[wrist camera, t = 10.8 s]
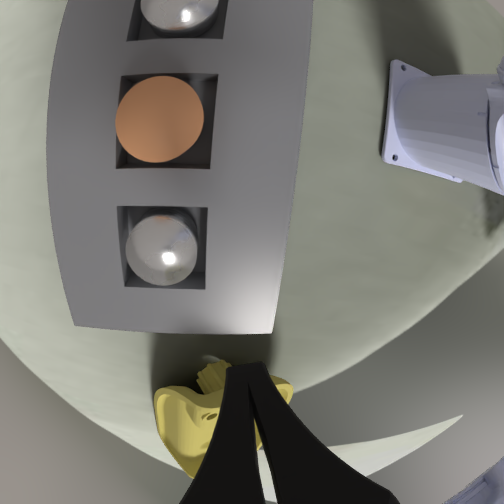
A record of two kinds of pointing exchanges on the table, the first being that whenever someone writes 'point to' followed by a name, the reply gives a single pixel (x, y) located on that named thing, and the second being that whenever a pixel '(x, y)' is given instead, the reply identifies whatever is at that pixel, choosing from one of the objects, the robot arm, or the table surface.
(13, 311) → the table surface
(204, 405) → the plastic component
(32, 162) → the table surface
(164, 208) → the plunger
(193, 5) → the plunger
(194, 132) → the orange plunger
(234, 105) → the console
